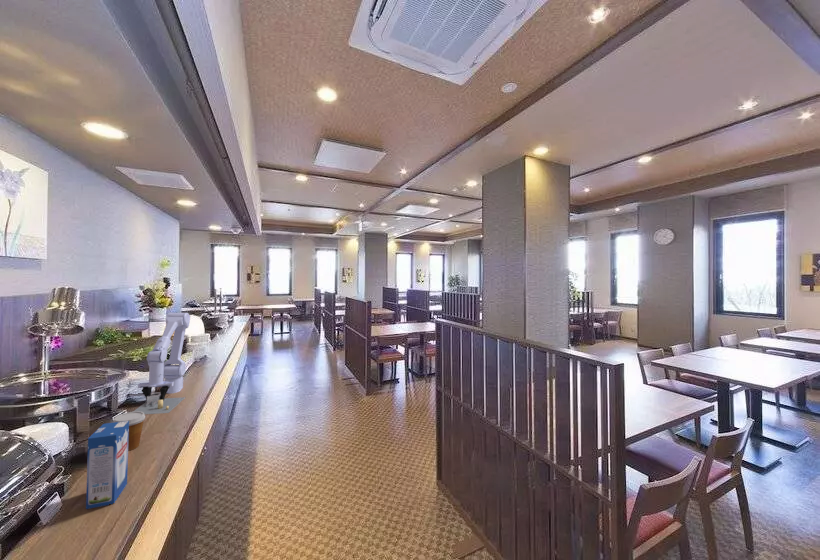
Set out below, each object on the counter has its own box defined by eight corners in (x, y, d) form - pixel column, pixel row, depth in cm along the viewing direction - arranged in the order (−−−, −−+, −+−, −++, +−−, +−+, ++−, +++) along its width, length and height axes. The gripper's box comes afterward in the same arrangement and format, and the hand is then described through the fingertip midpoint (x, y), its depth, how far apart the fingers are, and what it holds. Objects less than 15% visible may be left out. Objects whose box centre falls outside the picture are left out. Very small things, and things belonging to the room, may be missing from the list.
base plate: (149, 401, 168) (150, 391, 168) (185, 399, 173) (185, 390, 173) (127, 417, 149) (128, 406, 149) (168, 415, 153) (169, 404, 153)
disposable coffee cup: (129, 454, 120) (130, 422, 120) (104, 453, 120) (105, 420, 120) (150, 441, 129) (151, 411, 129) (127, 440, 130) (128, 410, 130)
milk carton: (101, 488, 102) (103, 423, 101) (127, 483, 104) (129, 420, 104) (85, 509, 92) (87, 438, 92) (114, 504, 95) (116, 434, 95)
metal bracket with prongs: (152, 400, 167) (152, 392, 167) (163, 400, 168) (164, 392, 168) (143, 406, 159) (143, 398, 159) (156, 406, 160) (156, 398, 160)
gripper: (134, 377, 159) (133, 405, 159) (169, 376, 163) (168, 403, 163) (142, 373, 166) (141, 400, 166) (175, 372, 169) (174, 398, 170)
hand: (155, 401), depth 165 cm, fingers closed on metal bracket with prongs, 5 cm apart
